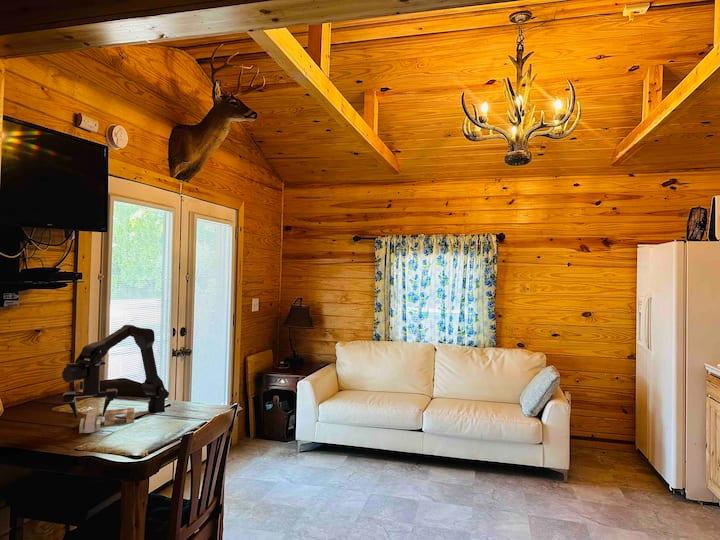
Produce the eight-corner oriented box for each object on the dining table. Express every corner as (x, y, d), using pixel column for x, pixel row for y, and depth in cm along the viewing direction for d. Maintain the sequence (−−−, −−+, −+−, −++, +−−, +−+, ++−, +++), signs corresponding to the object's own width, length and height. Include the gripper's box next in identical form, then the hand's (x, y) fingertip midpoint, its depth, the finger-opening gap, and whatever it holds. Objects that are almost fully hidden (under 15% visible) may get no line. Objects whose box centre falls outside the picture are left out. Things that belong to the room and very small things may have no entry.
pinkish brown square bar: (87, 420, 198) (87, 412, 198) (95, 419, 200) (96, 411, 200) (84, 433, 182) (84, 424, 182) (94, 432, 184) (94, 423, 184)
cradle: (100, 423, 197) (100, 416, 197) (99, 430, 188) (100, 423, 188) (81, 425, 194) (81, 418, 194) (79, 433, 185) (79, 425, 185)
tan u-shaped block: (133, 418, 206) (133, 407, 206) (134, 422, 200) (134, 411, 200) (104, 421, 201) (105, 410, 201) (104, 425, 195) (104, 414, 195)
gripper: (117, 372, 199) (116, 409, 199) (65, 375, 190) (64, 414, 190) (118, 377, 189) (116, 416, 189) (63, 380, 180) (61, 422, 180)
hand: (89, 417), depth 187 cm, fingers open, 9 cm apart
